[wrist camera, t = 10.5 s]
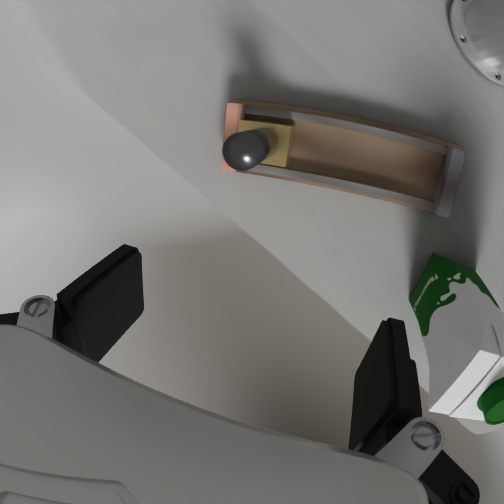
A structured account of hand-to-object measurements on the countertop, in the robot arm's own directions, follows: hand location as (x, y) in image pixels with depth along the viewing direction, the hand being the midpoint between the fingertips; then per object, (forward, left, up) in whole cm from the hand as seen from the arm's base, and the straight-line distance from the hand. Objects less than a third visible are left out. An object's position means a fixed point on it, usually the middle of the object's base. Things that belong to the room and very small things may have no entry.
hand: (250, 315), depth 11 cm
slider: (-3, -5, -24) cm, 25 cm away
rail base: (-3, +3, -26) cm, 26 cm away
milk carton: (+10, +19, -26) cm, 34 cm away
